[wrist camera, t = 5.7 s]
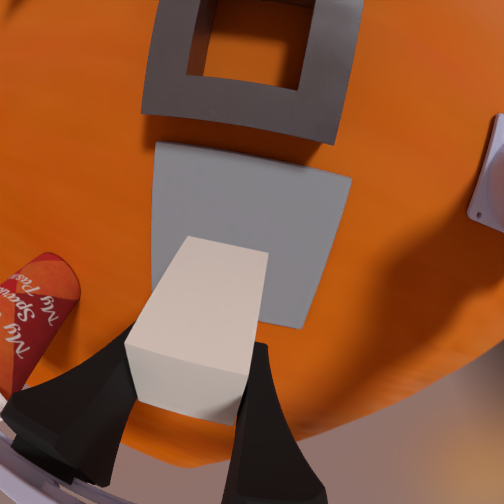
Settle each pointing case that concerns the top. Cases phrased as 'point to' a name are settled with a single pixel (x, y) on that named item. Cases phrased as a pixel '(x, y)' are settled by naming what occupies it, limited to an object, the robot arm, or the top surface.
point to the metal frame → (248, 93)
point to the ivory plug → (199, 331)
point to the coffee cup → (32, 317)
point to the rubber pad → (249, 217)
